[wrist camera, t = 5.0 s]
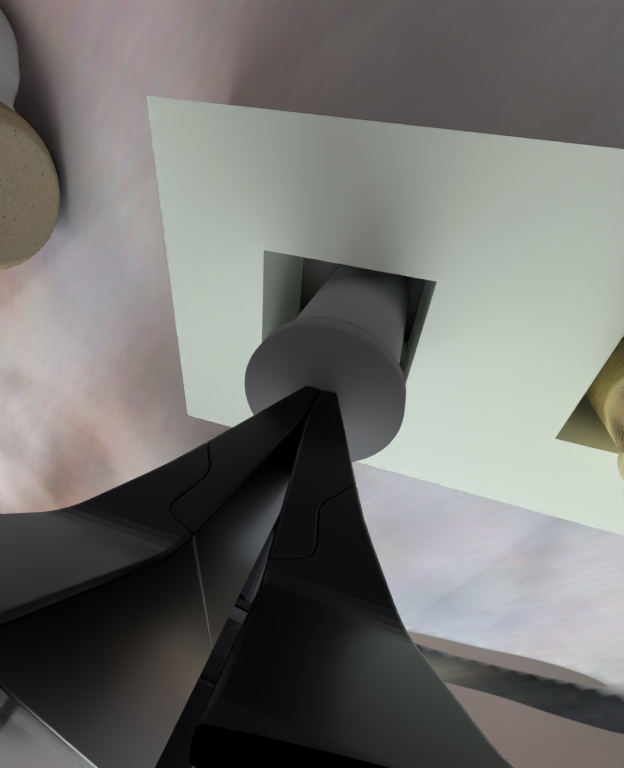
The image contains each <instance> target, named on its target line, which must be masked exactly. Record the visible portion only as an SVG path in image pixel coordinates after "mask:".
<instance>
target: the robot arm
mask: <svg viewBox="0 0 624 768" xmlns="http://www.w3.org/2000/svg"><path fill="white" fill-rule="evenodd" d="M0 768H514V767H513V766H512V765H511V764H510V763H508V762H507V761H506V760H505V759H504V758H503V756H502V755H501V754H500V753H499V752H498V751H497V750H496V748H495V747H494V746H493V745H492V744H491V743H490V741H489V740H488V739H487V737H486V736H485V735H484V734H483V732H482V731H481V730H480V728H479V727H478V726H477V724H476V723H475V722H474V721H473V719H472V718H471V717H470V715H469V714H468V713H467V711H466V710H465V709H464V708H463V707H462V705H461V704H460V702H459V701H458V700H457V698H456V697H455V696H454V695H453V693H452V692H451V691H450V689H449V688H448V687H447V686H446V684H445V683H444V682H443V680H442V679H441V678H440V676H439V675H438V674H437V672H436V671H435V670H434V669H433V667H432V666H431V665H430V663H429V662H428V661H427V659H426V658H425V657H424V656H423V654H422V653H421V652H420V650H419V649H418V648H417V646H416V645H415V644H414V642H413V641H412V639H411V637H410V636H409V634H408V633H407V631H406V629H405V627H404V625H403V623H402V621H401V618H400V616H399V614H398V611H397V609H396V606H395V604H394V601H393V599H392V596H391V593H390V590H389V588H388V585H387V582H386V580H385V577H384V574H383V571H382V569H381V566H380V563H379V561H378V558H377V555H376V552H375V550H374V547H373V544H372V541H371V538H370V535H369V532H368V529H367V526H366V523H365V520H364V516H363V512H362V508H361V504H360V500H359V495H358V490H357V487H356V482H355V477H354V472H353V467H352V462H351V457H350V452H349V448H348V443H347V438H346V433H345V428H344V423H343V419H342V414H341V409H340V404H339V399H338V395H337V394H336V393H334V392H330V391H326V390H322V391H320V389H318V388H314V387H310V386H304V387H302V388H301V389H299V390H297V391H295V392H294V393H292V394H290V395H288V396H287V397H285V398H283V399H281V400H280V401H278V402H276V403H274V404H273V405H271V406H269V407H267V408H266V409H264V410H262V411H260V412H259V413H257V414H255V415H253V416H252V417H250V418H248V419H246V420H244V421H243V422H241V423H239V424H237V425H236V426H234V427H232V428H230V429H229V430H227V431H225V432H223V433H222V434H220V435H218V436H216V437H215V438H213V439H211V440H209V441H208V442H207V443H204V444H202V445H200V446H199V447H197V448H195V449H193V450H192V451H190V452H188V453H186V454H184V455H182V456H180V457H179V458H177V459H175V460H173V461H171V462H169V463H167V464H165V465H163V466H161V467H159V468H157V469H154V470H152V471H150V472H148V473H146V474H144V475H142V476H139V477H137V478H135V479H133V480H131V481H128V482H126V483H124V484H122V485H120V486H117V487H115V488H113V489H111V490H109V491H106V492H104V493H102V494H100V495H98V496H95V497H93V498H91V499H89V500H86V501H84V502H81V503H79V504H76V505H73V506H70V507H67V508H62V509H58V510H53V511H46V512H32V513H11V514H0Z"/></svg>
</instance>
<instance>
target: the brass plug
mask: <svg viewBox="0 0 624 768" xmlns="http://www.w3.org/2000/svg"><path fill="white" fill-rule="evenodd" d="M585 395H586V396H587V398H588V400H589V401H590V403H591V405H592V406H593V408H594V409H595V411H596V413H597V414H598V416H599V418H600V419H601V421H602V423H603V424H604V426H605V428H606V429H607V431H608V433H609V434H610V436H611V437H612V439H613V441H614V442H615V444H616V446H617V447H618V449H619V454H618V461H617V465H618V471H619V473H620V476H621V478H622V480H623V482H624V335H623V337H622V338H621V340H620V341H619V343H618V344H617V346H616V347H615V349H614V350H613V352H612V353H611V355H610V356H609V358H608V359H607V361H606V362H605V364H604V365H603V367H602V368H601V370H600V371H599V373H598V375H597V376H596V378H595V379H594V381H593V382H592V384H591V385H590V387H589V388H588V390H587V391H586V393H585Z"/></svg>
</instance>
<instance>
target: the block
mask: <svg viewBox="0 0 624 768" xmlns="http://www.w3.org/2000/svg"><path fill="white" fill-rule="evenodd" d="M146 100H147V108H148V115H149V123H150V131H151V138H152V146H153V154H154V161H155V169H156V177H157V184H158V192H159V200H160V207H161V215H162V223H163V230H164V238H165V246H166V253H167V261H168V269H169V276H170V284H171V292H172V299H173V307H174V315H175V322H176V330H177V338H178V345H179V353H180V361H181V368H182V376H183V384H184V391H185V399H186V407H187V414H188V415H189V416H192V417H196V418H200V419H203V420H207V421H211V422H214V423H218V424H221V425H225V426H229V427H234V426H236V425H237V424H239V423H241V422H243V421H244V420H246V419H248V418H250V417H252V416H253V413H252V411H251V409H250V407H249V404H248V401H247V398H246V393H245V384H244V382H245V372H246V368H247V365H248V362H249V360H250V358H251V356H252V355H253V353H254V351H255V350H256V349H257V348H258V347H259V346H260V345H261V343H262V342H263V341H264V340H265V339H266V338H267V336H268V335H269V334H270V333H272V332H273V331H274V330H275V329H276V328H278V327H280V326H281V325H283V324H285V323H287V322H290V321H292V320H295V319H296V318H297V317H298V316H299V311H300V299H301V287H302V275H303V263H304V257H305V258H311V259H316V260H321V261H327V262H332V263H338V264H343V265H349V266H354V267H360V268H365V269H371V270H376V271H382V272H387V273H392V274H398V275H403V276H409V277H414V278H420V279H425V280H426V282H425V286H424V289H423V293H422V296H421V300H420V303H419V307H418V310H417V314H416V317H415V321H414V324H413V328H412V331H411V335H410V338H409V342H408V343H407V342H403V344H402V350H401V357H400V363H399V365H400V367H401V370H402V372H403V375H404V379H405V384H406V403H405V412H404V418H403V422H402V425H401V427H400V430H399V432H398V433H397V435H396V436H395V438H394V439H393V440H392V442H391V443H390V444H389V445H388V446H387V447H385V448H384V449H383V450H382V451H380V452H378V453H377V454H375V455H373V456H371V457H368V458H366V459H362V460H359V461H355V462H359V463H363V464H366V465H370V466H374V467H377V468H381V469H384V470H388V471H392V472H395V473H399V474H402V475H406V476H410V477H413V478H417V479H421V480H424V481H428V482H431V483H435V484H439V485H442V486H446V487H450V488H453V489H457V490H460V491H464V492H468V493H471V494H475V495H478V496H482V497H486V498H489V499H493V500H497V501H500V502H504V503H507V504H511V505H515V506H518V507H522V508H526V509H529V510H533V511H536V512H540V513H544V514H547V515H551V516H555V517H558V518H562V519H565V520H569V521H573V522H576V523H580V524H583V525H587V526H591V527H594V528H598V529H602V530H605V531H609V532H612V533H616V534H620V535H623V536H624V482H623V480H622V478H621V476H620V473H619V471H618V465H617V461H618V454H619V449H618V447H617V446H616V444H615V442H614V441H613V439H612V437H611V436H610V434H609V433H608V431H607V429H606V428H605V426H604V424H603V423H602V421H601V419H600V418H599V416H598V414H597V413H596V411H595V409H594V408H593V406H592V405H591V403H590V401H589V400H588V398H587V396H586V395H585V393H586V391H587V390H588V388H589V387H590V385H591V384H592V382H593V381H594V379H595V378H596V376H597V375H598V373H599V371H600V370H601V368H602V367H603V365H604V364H605V362H606V361H607V359H608V358H609V356H610V355H611V353H612V352H613V350H614V349H615V347H616V346H617V344H618V343H619V341H620V340H621V338H622V337H623V335H624V149H618V148H609V147H600V146H591V145H583V144H574V143H565V142H556V141H547V140H538V139H529V138H520V137H511V136H502V135H493V134H485V133H476V132H467V131H458V130H449V129H440V128H431V127H422V126H413V125H404V124H396V123H387V122H378V121H369V120H360V119H351V118H342V117H333V116H324V115H315V114H306V113H298V112H289V111H280V110H271V109H262V108H253V107H244V106H235V105H226V104H217V103H209V102H200V101H191V100H182V99H173V98H164V97H155V96H146Z"/></svg>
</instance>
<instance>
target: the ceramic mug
mask: <svg viewBox="0 0 624 768" xmlns="http://www.w3.org/2000/svg"><path fill="white" fill-rule="evenodd" d="M18 52H19V51H18V46H17V42H16V39H15V36H14V33H13V31H12V28H11V26H10V24H9V22H8V20H7V18H6V16H5V15H4V13H3V12H2V11H1V9H0V269H7V268H10V267H13V266H16V265H19V264H21V263H23V262H25V261H26V260H28V259H30V258H31V257H32V256H33V255H34V254H36V253H37V252H38V251H39V250H40V249H41V248H42V247H43V246H44V245H45V243H46V242H47V241H48V239H49V238H50V236H51V234H52V232H53V229H54V227H55V225H56V222H57V218H58V215H59V205H60V187H59V180H58V175H57V172H56V169H55V166H54V164H53V161H52V158H51V156H50V153H49V151H48V149H47V147H46V146H45V144H44V142H43V141H42V139H41V138H40V136H39V135H38V134H37V133H36V131H35V130H34V129H33V128H32V127H31V125H30V124H28V123H27V122H26V121H25V120H24V119H23V118H22V117H21V116H20V115H19V114H18V113H16V111H15V110H14V107H13V105H14V101H15V97H16V95H17V92H18V87H19V82H20V72H19V59H18Z"/></svg>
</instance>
